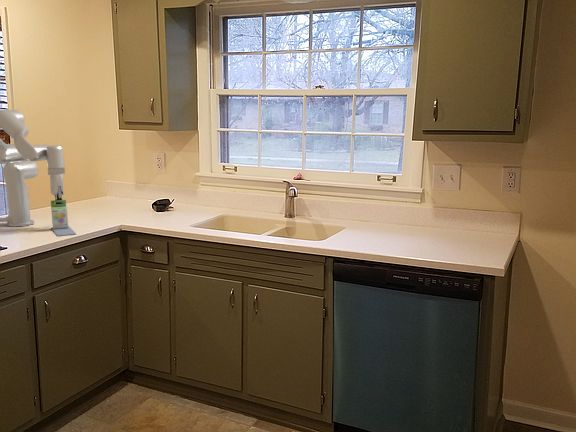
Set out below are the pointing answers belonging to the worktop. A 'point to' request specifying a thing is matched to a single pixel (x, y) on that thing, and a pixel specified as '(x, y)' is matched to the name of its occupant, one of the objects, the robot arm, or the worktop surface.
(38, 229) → the worktop surface
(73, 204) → the worktop surface
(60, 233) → the rubber mat
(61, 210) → the ink box
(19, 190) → the robot arm
